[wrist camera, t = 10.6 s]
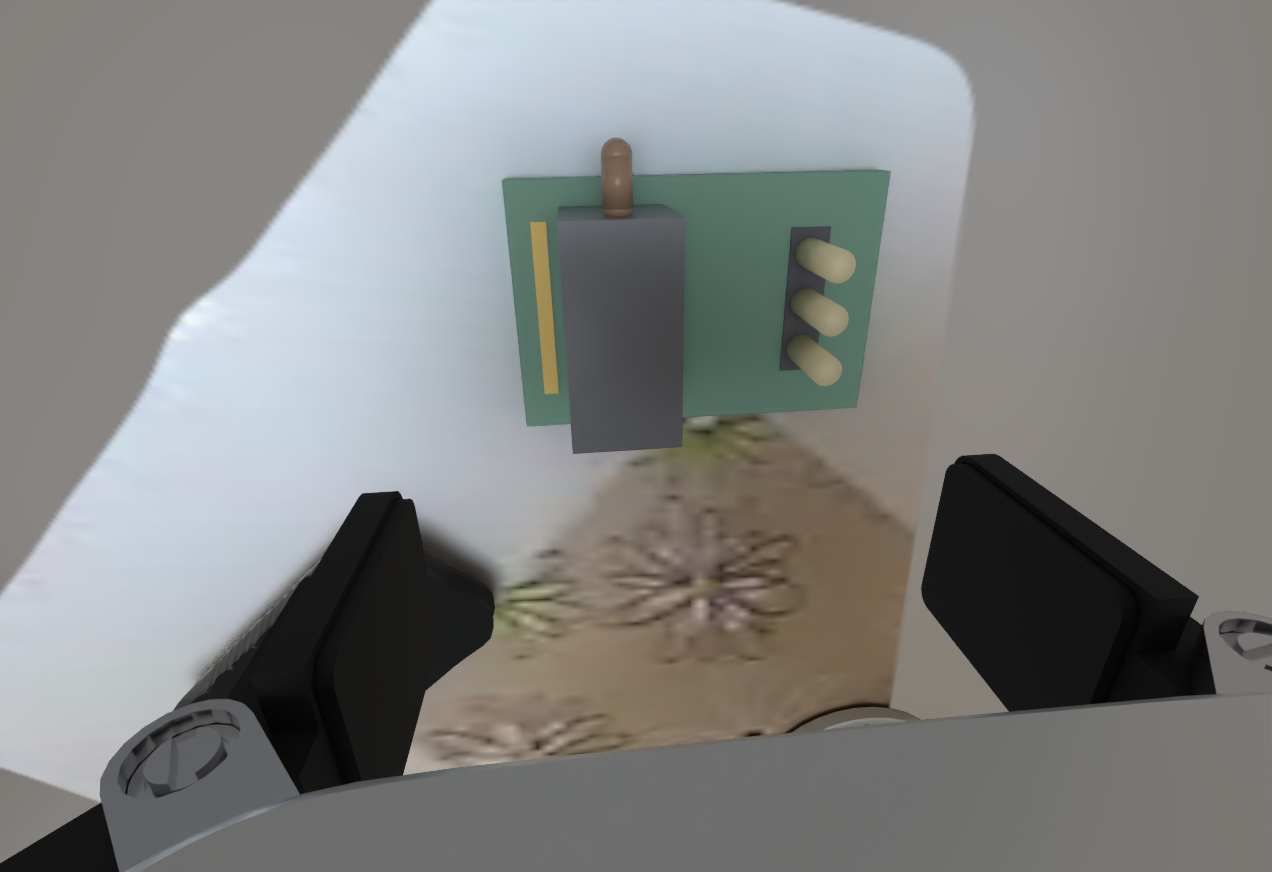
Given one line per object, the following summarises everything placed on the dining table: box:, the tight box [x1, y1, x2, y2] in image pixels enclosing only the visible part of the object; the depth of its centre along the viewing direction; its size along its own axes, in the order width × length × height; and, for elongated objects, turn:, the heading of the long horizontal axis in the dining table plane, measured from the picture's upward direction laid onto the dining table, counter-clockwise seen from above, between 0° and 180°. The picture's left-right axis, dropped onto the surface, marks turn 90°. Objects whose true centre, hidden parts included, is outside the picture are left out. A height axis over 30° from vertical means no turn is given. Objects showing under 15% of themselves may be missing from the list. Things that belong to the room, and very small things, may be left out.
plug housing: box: [557, 138, 686, 454], centre depth 23 cm, size 10×4×5 cm, turn 1°
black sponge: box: [173, 551, 495, 711], centre depth 31 cm, size 16×8×4 cm, turn 133°
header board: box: [502, 170, 891, 426], centre depth 25 cm, size 10×15×4 cm, turn 91°
